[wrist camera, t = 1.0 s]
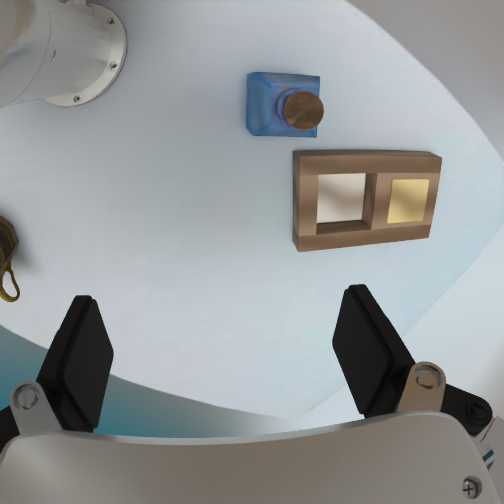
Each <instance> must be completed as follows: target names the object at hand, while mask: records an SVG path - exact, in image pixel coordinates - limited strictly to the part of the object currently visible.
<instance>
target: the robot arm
mask: <svg viewBox="0 0 504 504" xmlns="http://www.w3.org/2000/svg"><path fill="white" fill-rule="evenodd" d="M112 21H114V23H113V24H111V22H112ZM126 51H127V38H126V32H125V29H124V27H123V24H122V23H121V21H120V20H119V18H118V17H117V16H116V15H115V14H114V13H113V12H111V11H110V10H108V9H107V8H105V7H102V6H99V5H96V4H86V0H68V1H67V2H66V3H62V2H61V0H0V108H2V107H6V106H10V105H14V104H18V103H23V102H27V101H32V100H37V99H43V100H44V101H46V102H48V103H49V104H52V105H55V106H59V107H72V106H78V105H82V104H84V103H87V102H89V101H92V100H93V99H95V98H96V97H98V96H99V95H101V94H102V93H103V92H104V91H105V90H106V89H108V88H109V86H110V85H111V84H112V83H113V82H114V80H115V79H116V77H117V75H118V74H119V72H120V70H121V68H122V65H123V63H124V60H125V56H126ZM115 64H116V65H117V67H116V68H114V67H113V66H114V65H115ZM78 97H80V100H78ZM332 345H333V349H334V351H335V354H336V356H337V359H338V361H339V363H340V366H341V368H342V371H343V373H344V376H345V378H346V381H347V383H348V386H349V389H350V391H351V394H352V396H353V398H354V401H355V404H356V406H357V409H358V411H359V413H360V414H363V415H364V417H365V419H361V420H357V421H352V422H346V423H341V424H335V425H330V426H324V427H318V428H313V429H306V430H299V431H292V432H283V433H275V434H265V435H254V436H242V437H223V438H148V437H132V436H118V435H106V434H96V433H93V430H94V428H97V426H98V423H99V418H100V413H101V408H102V404H103V399H104V395H105V390H106V385H107V382H108V377H109V373H110V369H111V365H112V361H113V356H114V353H113V348H112V345H111V343H110V340H109V337H108V334H107V331H106V329H105V326H104V323H103V320H102V317H101V314H100V311H99V308H98V304H97V302H96V300H95V299H92V297H91V296H89V295H77V296H75V298H74V300H73V302H72V304H71V306H70V308H69V310H68V312H67V314H66V316H65V318H64V320H63V322H62V324H61V326H60V329H59V330H58V331H57V333H56V335H55V337H54V339H53V341H52V344H51V346H50V348H49V350H48V353H47V355H46V358H45V360H44V362H43V364H42V367H41V370H40V372H39V374H38V377H37V379H36V382H35V381H31V380H28V381H23V382H20V383H19V384H17V385H16V386H15V387H14V388H13V389H12V391H11V393H10V397H9V403H10V405H9V406H8V407H6V408H4V409H3V410H1V411H0V504H504V420H503V419H501V418H500V417H499V416H496V417H495V418H494V417H493V416H492V409H491V407H490V405H489V403H487V401H485V400H484V399H482V398H481V397H478V396H476V395H473V394H471V393H468V392H466V391H463V390H461V389H458V388H456V387H453V386H451V385H449V384H446V377H445V374H444V372H443V371H442V369H441V368H439V367H438V366H437V365H435V364H433V363H430V362H419V363H415V361H414V360H413V358H412V356H411V354H410V353H409V351H408V349H407V348H406V346H405V345H404V343H403V341H402V340H401V338H400V336H399V335H398V333H397V332H396V330H395V328H394V327H393V325H392V324H391V322H390V320H389V319H388V318H387V316H385V314H384V313H383V311H382V309H381V308H380V306H379V305H378V303H377V302H376V300H375V299H374V297H373V296H372V294H371V293H370V291H369V289H368V288H367V286H366V285H365V284H358V285H350V286H349V288H348V289H346V290H345V291H344V295H343V299H342V303H341V307H340V312H339V316H338V320H337V324H336V328H335V332H334V336H333V340H332Z"/></svg>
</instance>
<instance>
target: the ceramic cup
mask: <svg viewBox="0 0 504 504" xmlns="http://www.w3.org/2000/svg"><path fill="white" fill-rule="evenodd" d="M17 245H18V239H17V236H16V233H15V231H14V228H13V226H12V225H11V224H10V223H9V222H7V221H6V220H5V219H4V218H2V217H1V216H0V296H1V297H2V298H3V299H4V300H5V301H7V302H14V301H16V300H17V299H18V298H19V296H20V290H19V287H18V285H17V283H16V281H15V278H14V274H13V271H12V269H11V259H12V257H13V256H14V254H15V251H16V248H17ZM5 271H8V272H9V273H10V275H11V279H12V282H13V284H14V286H15V288H16V291H17V296H16V297H11V296H9V295H8V294H7V293H6V292H5V290H4V289H3V286H2V284H3V276H4V273H5Z"/></svg>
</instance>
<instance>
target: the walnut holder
mask: <svg viewBox="0 0 504 504" xmlns="http://www.w3.org/2000/svg"><path fill="white" fill-rule="evenodd" d="M441 164H442V158H441V157H439V156H437V155H435V154H433V153H431V152H421V151H399V150H304V151H293V242H294V244H295V246H296V249H297V251H298V252H305V251H314V250H324V249H333V248H342V247H351V246H360V245H369V244H378V243H387V242H396V241H405V240H414V239H423V238H429V233H430V228H431V224H432V219H433V214H434V208H435V203H436V197H437V191H438V185H439V178H440V171H441ZM365 174H366V182H365ZM364 187H365V194H364ZM363 198H364V204H363ZM362 208H363V214H362ZM361 217H362V220H358V219H361ZM345 220H354V221H345ZM333 221H341V222H333ZM322 222H330V223H322ZM317 223H318V224H317Z"/></svg>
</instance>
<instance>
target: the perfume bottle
mask: <svg viewBox="0 0 504 504" xmlns="http://www.w3.org/2000/svg"><path fill="white" fill-rule="evenodd" d="M319 90H320V77H319V76H310V75H299V74H285V73H267V72H253V73H250V74H247V116H246V127H247V129H248V130H249V131H250V132H251V134H252V135H253V136H290V137H313V138H316V137H317V125H318V124H319V123H320V121H321V119H322V118H323V113H324V109H323V104H322V102H321V100H320V99H319Z"/></svg>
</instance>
